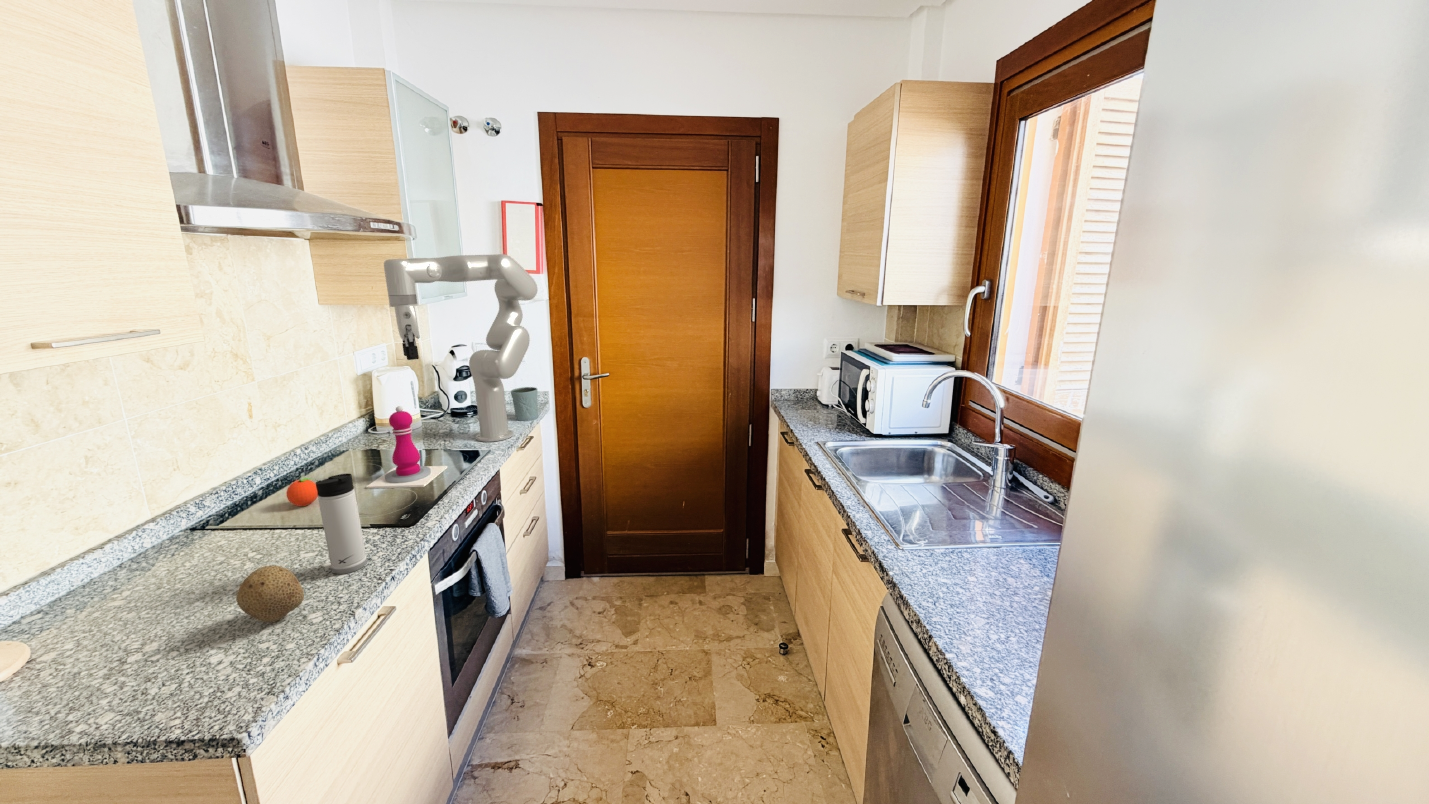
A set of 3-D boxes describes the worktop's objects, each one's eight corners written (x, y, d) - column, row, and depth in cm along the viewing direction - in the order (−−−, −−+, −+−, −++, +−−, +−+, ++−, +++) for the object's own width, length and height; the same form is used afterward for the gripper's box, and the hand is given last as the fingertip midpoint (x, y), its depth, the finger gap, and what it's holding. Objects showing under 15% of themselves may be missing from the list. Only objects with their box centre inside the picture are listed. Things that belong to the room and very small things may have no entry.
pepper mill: (394, 478, 168) (384, 410, 163) (394, 470, 174) (384, 405, 169) (422, 473, 171) (413, 407, 166) (421, 466, 177) (412, 402, 173)
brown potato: (237, 620, 103) (225, 569, 101) (297, 598, 110) (287, 550, 108) (249, 641, 98) (237, 587, 95) (311, 617, 104) (301, 566, 102)
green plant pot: (542, 415, 242) (539, 386, 239) (536, 421, 232) (533, 391, 229) (517, 415, 241) (514, 387, 238) (510, 422, 231) (507, 392, 229)
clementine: (314, 496, 160) (310, 472, 158) (330, 500, 157) (325, 475, 155) (283, 507, 153) (277, 482, 151) (299, 512, 150) (293, 486, 148)
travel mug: (348, 577, 117) (330, 483, 113) (324, 571, 120) (306, 479, 115) (375, 562, 123) (360, 472, 118) (352, 557, 125) (336, 469, 121)
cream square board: (394, 469, 180) (394, 464, 180) (447, 467, 180) (446, 462, 180) (366, 488, 165) (365, 483, 164) (423, 486, 165) (423, 481, 165)
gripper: (420, 301, 171) (428, 359, 175) (414, 299, 185) (421, 353, 189) (391, 303, 167) (400, 362, 171) (387, 300, 182) (395, 355, 186)
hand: (411, 357), depth 180 cm, fingers open, 9 cm apart
